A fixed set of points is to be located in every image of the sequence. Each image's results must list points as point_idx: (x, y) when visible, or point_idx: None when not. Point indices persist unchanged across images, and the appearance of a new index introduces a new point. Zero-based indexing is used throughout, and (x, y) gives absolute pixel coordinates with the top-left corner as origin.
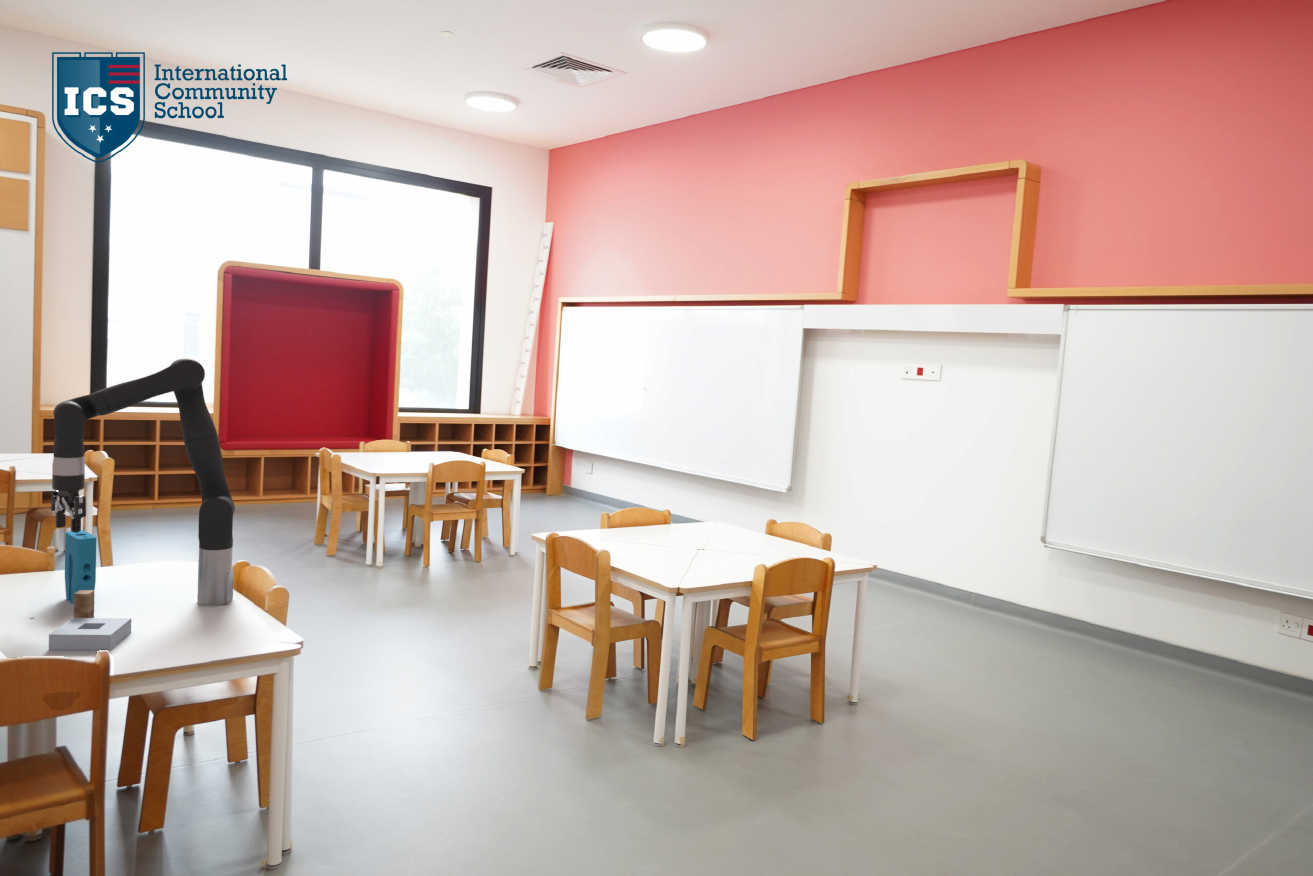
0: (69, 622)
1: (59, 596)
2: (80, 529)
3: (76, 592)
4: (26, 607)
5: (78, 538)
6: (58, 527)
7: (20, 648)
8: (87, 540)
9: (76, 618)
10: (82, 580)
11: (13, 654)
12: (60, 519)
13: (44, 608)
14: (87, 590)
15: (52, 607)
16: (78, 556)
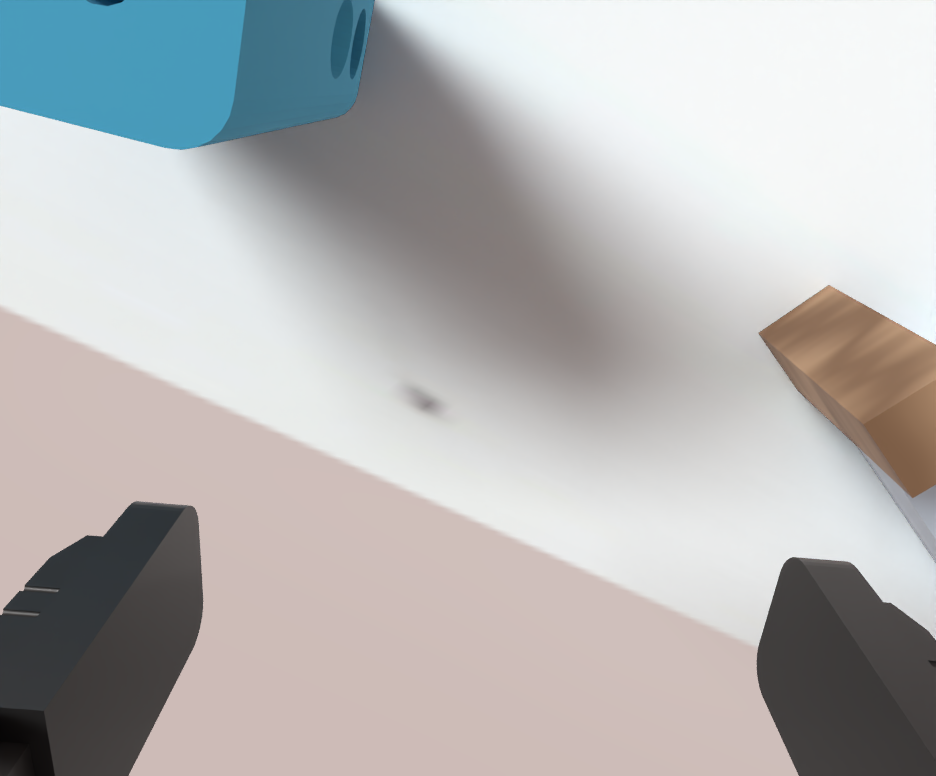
0: (934, 507)
1: None
2: (862, 582)
3: (900, 472)
4: (187, 317)
5: (164, 118)
6: (200, 606)
7: None
8: (256, 6)
9: None
10: (353, 81)
11: None
12: (129, 704)
13: (277, 265)
14: (921, 395)
15: (287, 223)
16: (287, 125)
